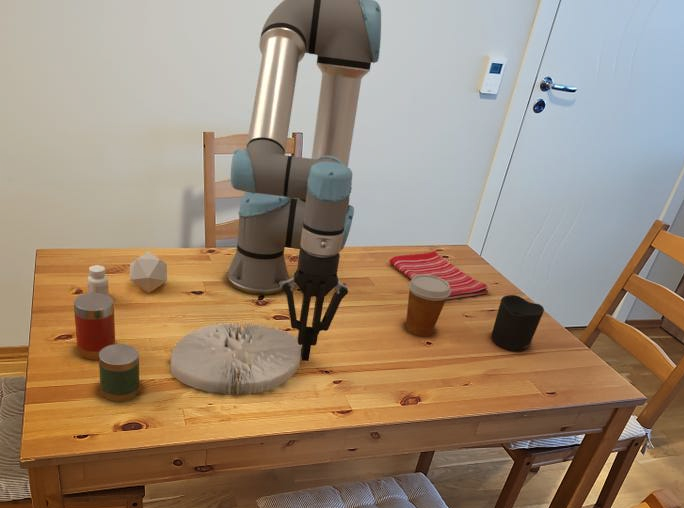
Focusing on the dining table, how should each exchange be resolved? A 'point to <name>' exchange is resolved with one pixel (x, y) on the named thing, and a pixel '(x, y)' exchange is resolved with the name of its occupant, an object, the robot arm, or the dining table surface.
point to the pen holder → (516, 323)
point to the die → (148, 272)
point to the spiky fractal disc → (235, 358)
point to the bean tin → (119, 372)
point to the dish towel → (439, 273)
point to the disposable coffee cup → (425, 303)
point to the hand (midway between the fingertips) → (304, 357)
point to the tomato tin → (94, 324)
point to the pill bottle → (97, 280)
